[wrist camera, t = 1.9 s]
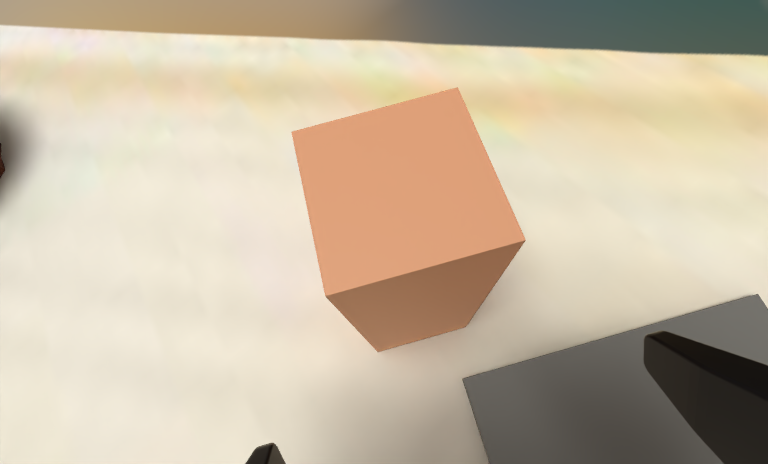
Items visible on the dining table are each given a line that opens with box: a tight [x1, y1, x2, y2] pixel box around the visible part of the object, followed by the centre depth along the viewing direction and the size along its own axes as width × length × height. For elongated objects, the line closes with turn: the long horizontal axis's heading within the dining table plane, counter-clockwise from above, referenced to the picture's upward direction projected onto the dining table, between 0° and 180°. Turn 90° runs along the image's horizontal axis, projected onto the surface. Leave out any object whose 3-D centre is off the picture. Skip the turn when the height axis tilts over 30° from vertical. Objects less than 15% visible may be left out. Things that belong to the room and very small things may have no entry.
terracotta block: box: [292, 87, 525, 352], centre depth 16 cm, size 5×5×13 cm
